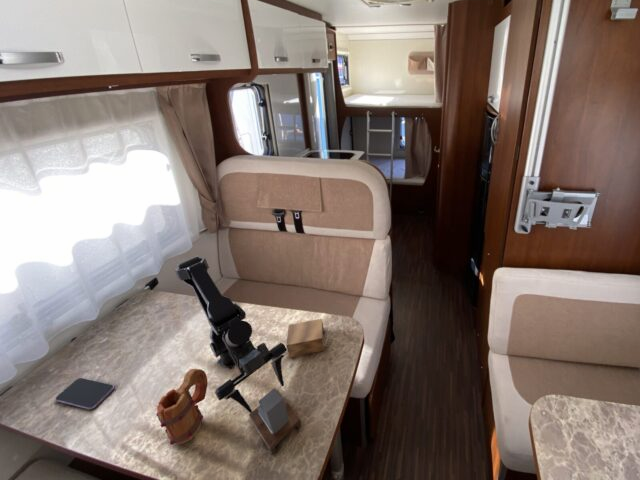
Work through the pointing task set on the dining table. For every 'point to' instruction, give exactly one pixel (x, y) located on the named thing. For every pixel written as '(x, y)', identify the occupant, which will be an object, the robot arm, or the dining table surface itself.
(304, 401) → the dining table surface
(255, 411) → the small wooden stand
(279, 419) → the grey upright block
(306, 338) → the light wood block
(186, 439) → the mug
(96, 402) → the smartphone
